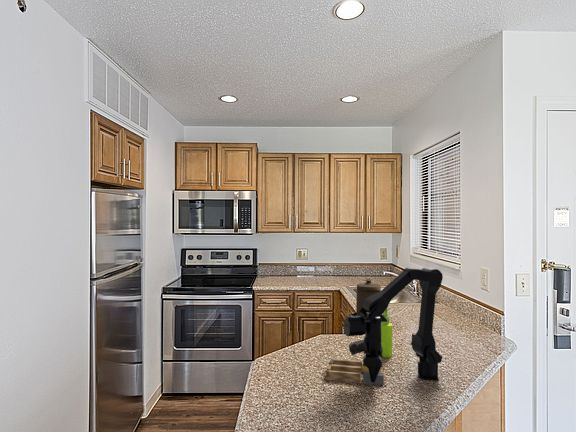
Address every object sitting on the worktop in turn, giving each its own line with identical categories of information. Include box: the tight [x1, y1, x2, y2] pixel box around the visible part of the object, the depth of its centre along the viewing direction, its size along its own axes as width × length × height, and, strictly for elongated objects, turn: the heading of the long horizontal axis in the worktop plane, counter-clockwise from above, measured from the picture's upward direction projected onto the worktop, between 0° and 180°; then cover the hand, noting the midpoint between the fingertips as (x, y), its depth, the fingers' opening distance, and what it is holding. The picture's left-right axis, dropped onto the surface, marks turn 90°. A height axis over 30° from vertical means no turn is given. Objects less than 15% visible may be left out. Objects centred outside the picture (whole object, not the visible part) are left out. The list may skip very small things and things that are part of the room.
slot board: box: [325, 358, 363, 384], centre depth 154 cm, size 12×14×3 cm
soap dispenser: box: [382, 308, 393, 358], centre depth 177 cm, size 6×7×20 cm
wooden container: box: [355, 278, 382, 315], centre depth 256 cm, size 15×15×22 cm
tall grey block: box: [362, 372, 385, 386], centre depth 146 cm, size 7×3×3 cm, turn 83°
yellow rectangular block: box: [362, 361, 382, 373], centre depth 157 cm, size 7×3×3 cm, turn 77°
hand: (373, 378), depth 146 cm, fingers open, 6 cm apart
